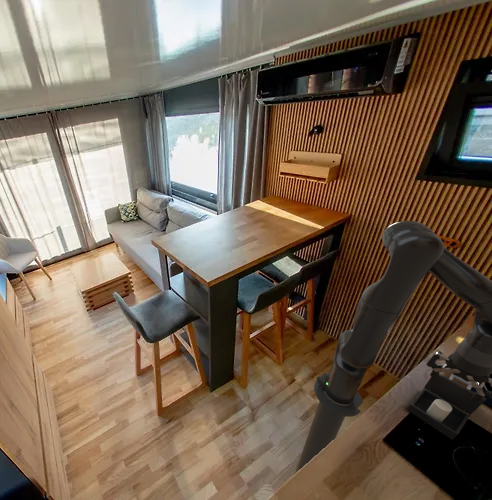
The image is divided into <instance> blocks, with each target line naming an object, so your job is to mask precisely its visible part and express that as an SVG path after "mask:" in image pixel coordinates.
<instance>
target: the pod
mask: <svg viewBox="0 0 492 500" xmlns="http://www.w3.org/2000/svg"><path fill="white" fill-rule="evenodd" d="M450 404H451V403H450ZM450 404H448V403H447V402H446V401H444V400H441V399H436V400H435V401H434V402H433V403H432V405H431V406H430V407H429V409H428V410H427V411H426V413H427V414H429V415H430V416H432V417H434V418H435V419H437V420H438V421H440V422H442V421H443V420H444V419H445V418H446V417H447V415H448V414H449V413H450V412H451V411H452V407H451V405H450Z"/></svg>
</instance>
